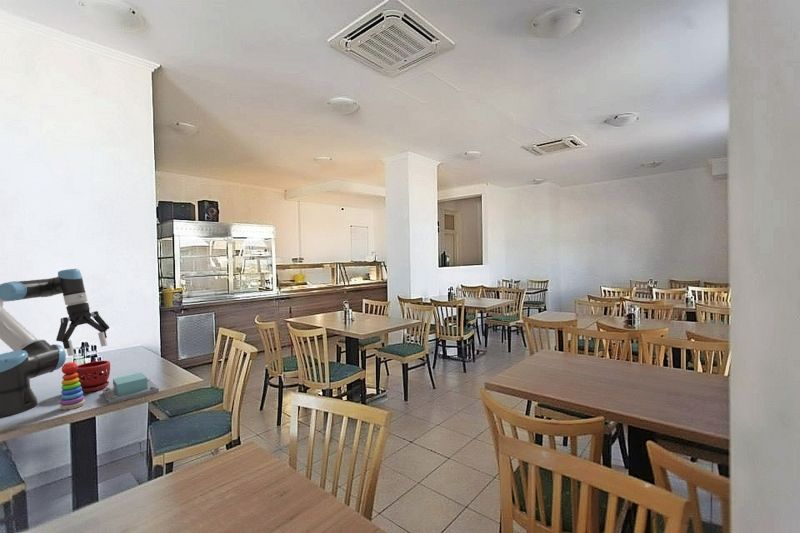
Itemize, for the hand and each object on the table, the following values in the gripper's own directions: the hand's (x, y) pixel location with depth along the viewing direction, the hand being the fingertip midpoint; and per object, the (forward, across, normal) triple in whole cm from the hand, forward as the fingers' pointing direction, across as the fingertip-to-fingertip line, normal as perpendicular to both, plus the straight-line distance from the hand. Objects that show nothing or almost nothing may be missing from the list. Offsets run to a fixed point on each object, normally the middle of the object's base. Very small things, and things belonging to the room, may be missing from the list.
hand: (88, 350), depth 165 cm
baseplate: (+23, +7, -9) cm, 26 cm away
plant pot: (+19, +8, +14) cm, 25 cm away
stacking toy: (+21, -10, +1) cm, 23 cm away
